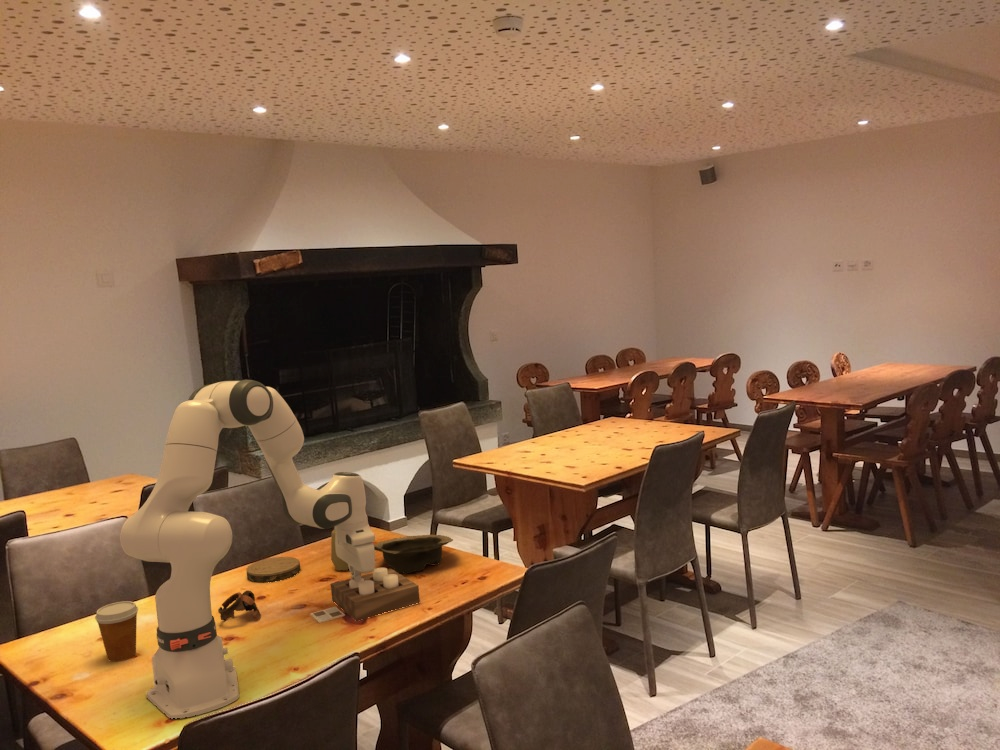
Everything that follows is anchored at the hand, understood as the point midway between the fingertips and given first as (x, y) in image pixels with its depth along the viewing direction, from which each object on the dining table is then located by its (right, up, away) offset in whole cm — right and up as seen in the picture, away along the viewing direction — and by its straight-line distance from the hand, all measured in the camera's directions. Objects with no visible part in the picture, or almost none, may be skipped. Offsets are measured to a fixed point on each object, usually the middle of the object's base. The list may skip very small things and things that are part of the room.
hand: (356, 580), depth 222 cm
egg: (0, -5, 0) cm, 5 cm away
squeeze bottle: (-9, -4, +30) cm, 31 cm away
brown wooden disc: (-30, -6, +29) cm, 43 cm away
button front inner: (+4, -4, -6) cm, 8 cm away
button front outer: (+10, -3, -2) cm, 11 cm away
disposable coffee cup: (-53, -13, -24) cm, 59 cm away
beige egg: (+6, -3, +4) cm, 8 cm away
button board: (+5, -6, -1) cm, 8 cm away
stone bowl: (+13, -3, +30) cm, 32 cm away
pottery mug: (-29, -9, -5) cm, 31 cm away
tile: (-6, -7, -7) cm, 12 cm away
